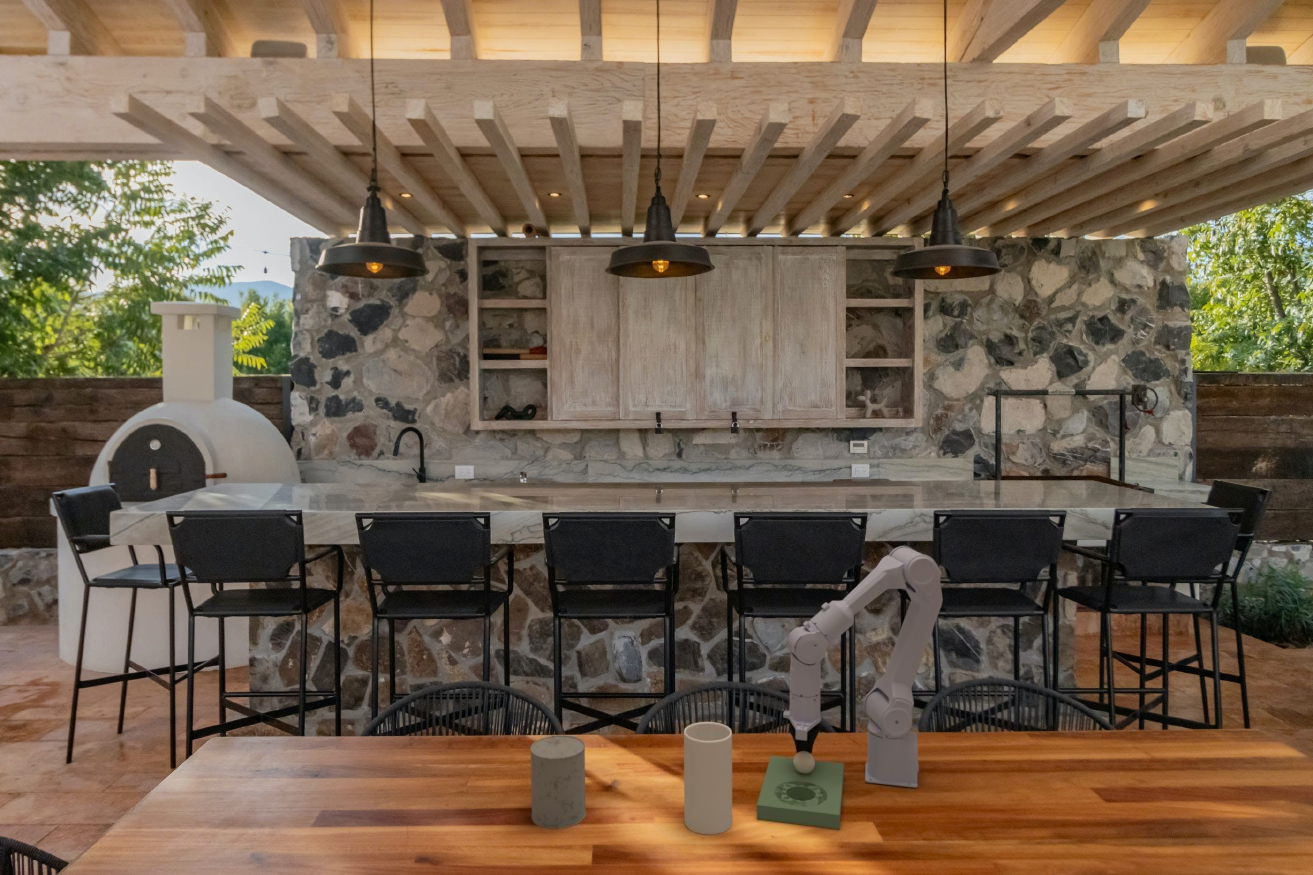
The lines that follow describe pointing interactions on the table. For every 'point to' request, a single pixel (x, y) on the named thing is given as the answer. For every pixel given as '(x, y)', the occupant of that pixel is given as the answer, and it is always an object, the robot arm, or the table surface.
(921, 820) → the table surface
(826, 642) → the robot arm
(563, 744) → the grey marble cylinder
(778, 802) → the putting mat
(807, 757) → the ball
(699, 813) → the cup
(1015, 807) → the table surface
